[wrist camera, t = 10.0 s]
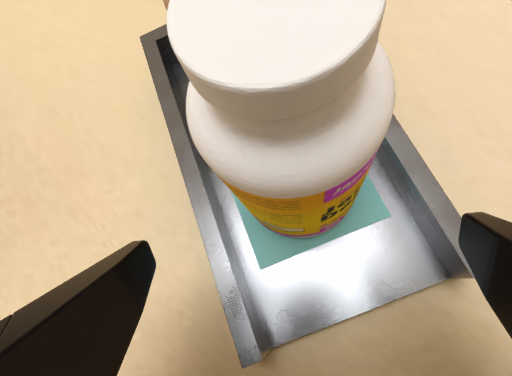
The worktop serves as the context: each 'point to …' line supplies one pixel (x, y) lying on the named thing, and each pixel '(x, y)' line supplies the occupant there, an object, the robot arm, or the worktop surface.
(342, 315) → the shallow metal tray
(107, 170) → the worktop surface
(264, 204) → the supplement bottle
